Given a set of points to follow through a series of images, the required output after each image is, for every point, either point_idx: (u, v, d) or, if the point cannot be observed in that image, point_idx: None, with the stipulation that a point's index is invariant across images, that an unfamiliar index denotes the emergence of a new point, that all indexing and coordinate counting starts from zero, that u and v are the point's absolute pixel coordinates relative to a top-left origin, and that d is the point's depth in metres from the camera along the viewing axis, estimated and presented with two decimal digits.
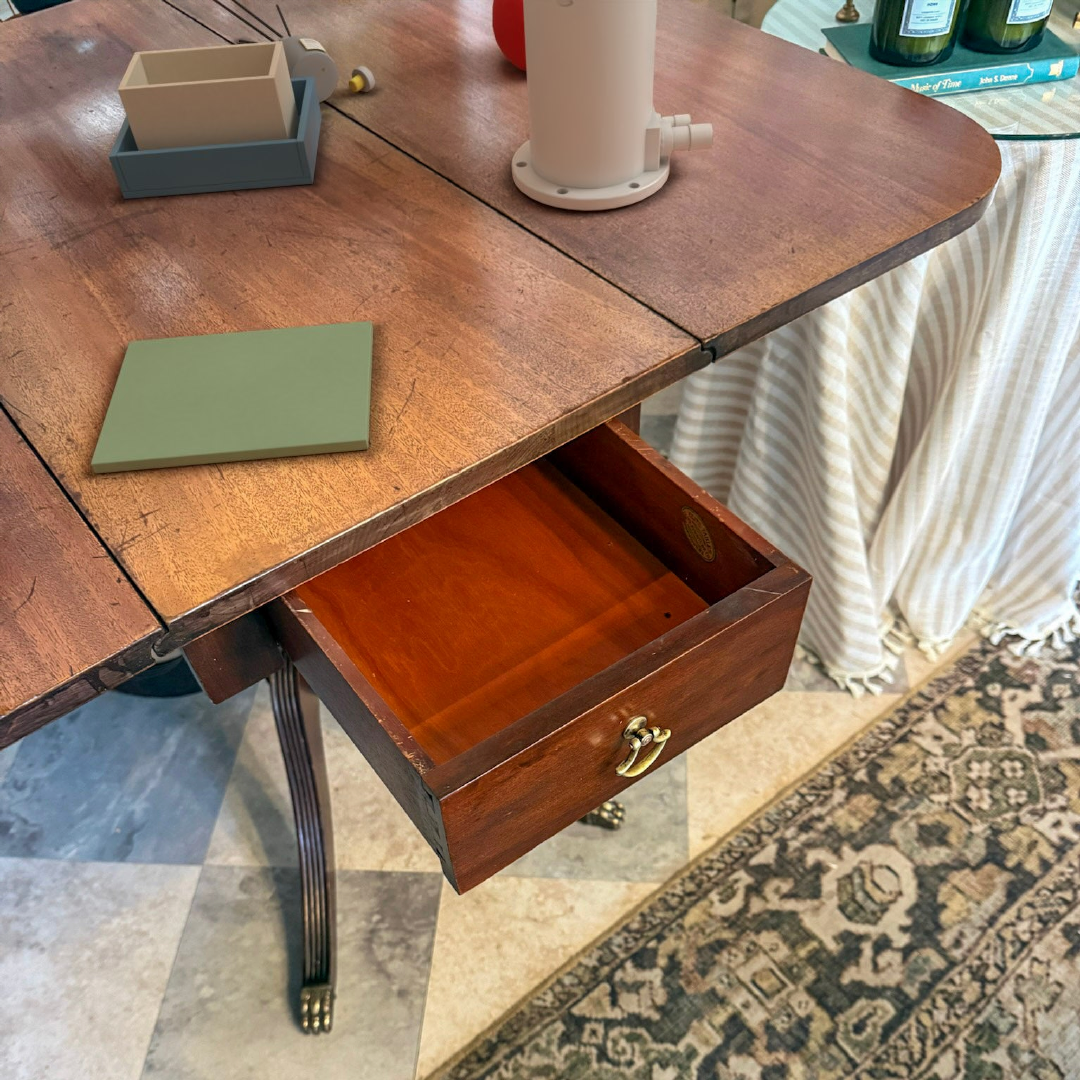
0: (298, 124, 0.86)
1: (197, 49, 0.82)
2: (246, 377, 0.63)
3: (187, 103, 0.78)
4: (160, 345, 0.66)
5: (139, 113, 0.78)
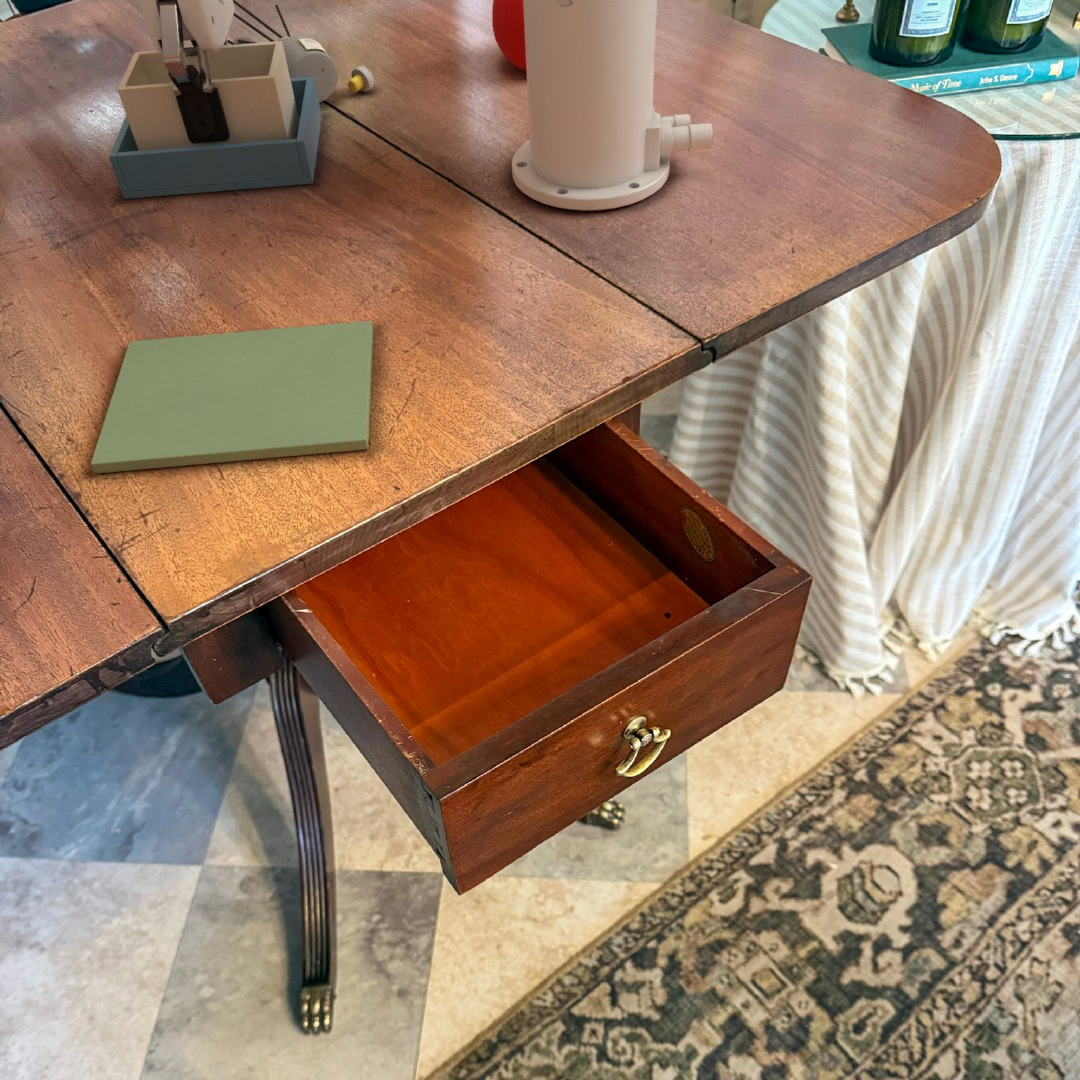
0: (298, 124, 0.86)
1: None
2: (246, 377, 0.63)
3: None
4: (160, 345, 0.66)
5: (139, 113, 0.78)
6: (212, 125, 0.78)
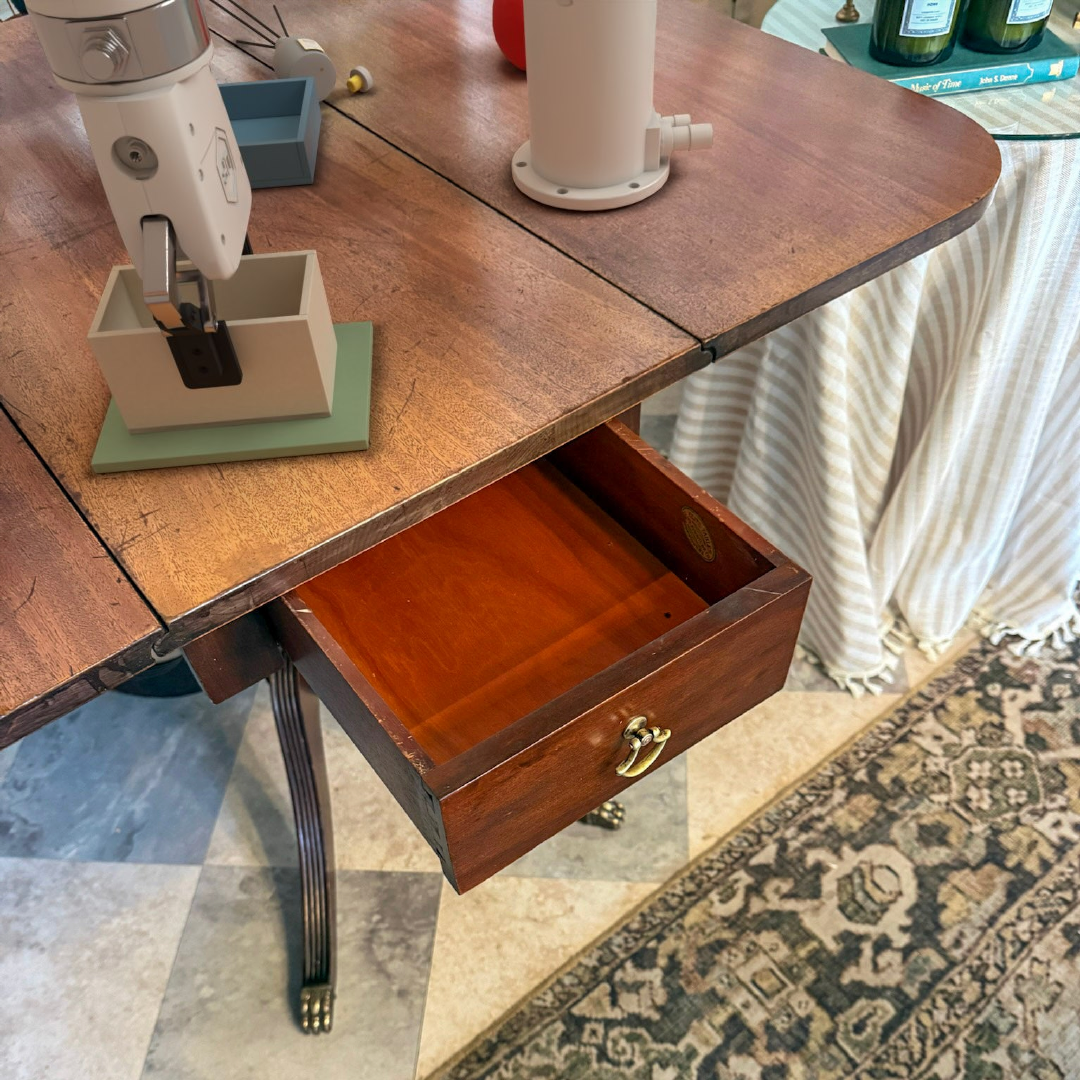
0: (335, 348, 0.64)
1: None
2: None
3: None
4: None
5: (118, 364, 0.56)
6: (217, 369, 0.54)
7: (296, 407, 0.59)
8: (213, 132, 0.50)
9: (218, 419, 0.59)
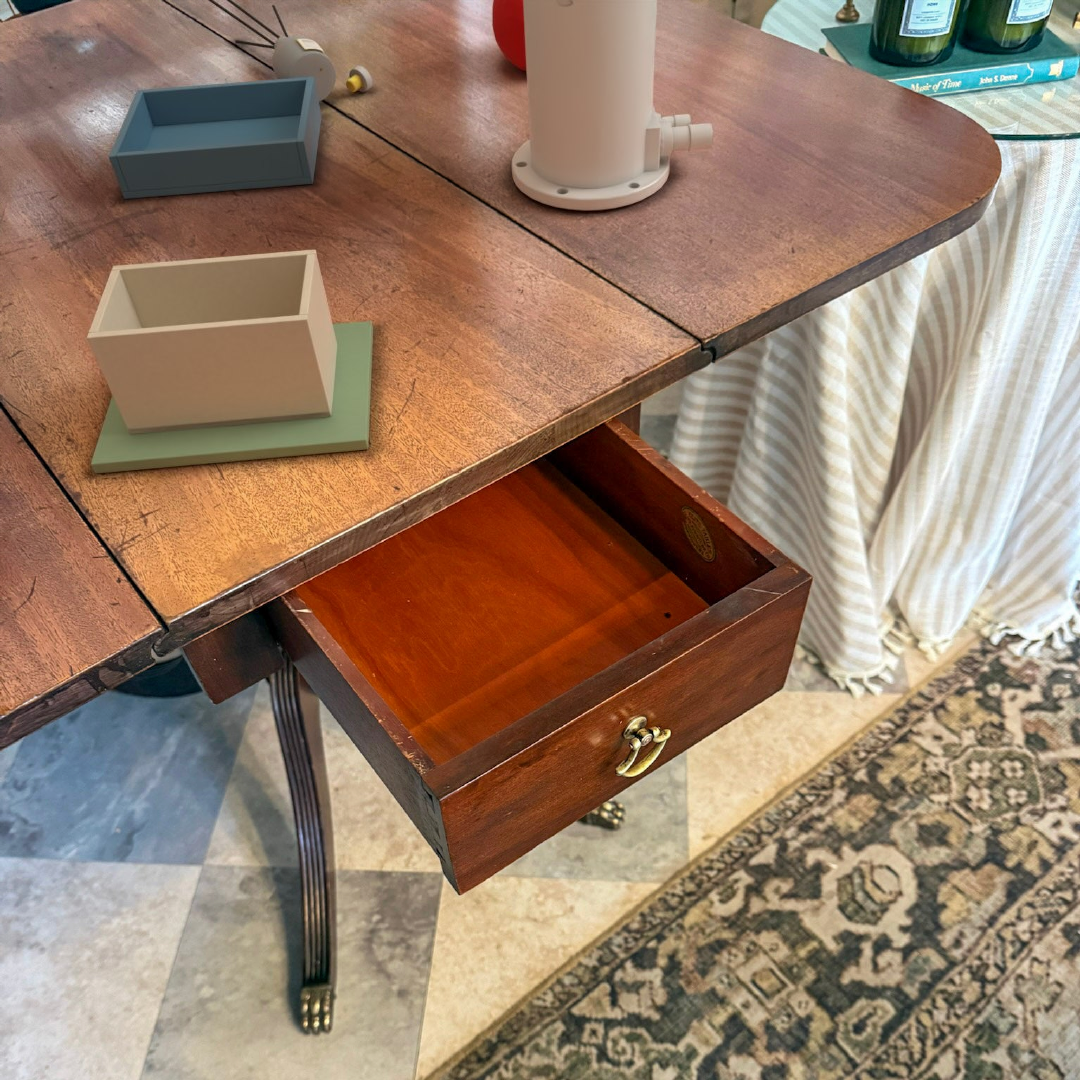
0: (335, 348, 0.64)
1: (198, 262, 0.59)
2: None
3: (185, 351, 0.56)
4: None
5: (118, 364, 0.56)
6: None
7: (296, 407, 0.59)
8: None
9: (218, 419, 0.59)
